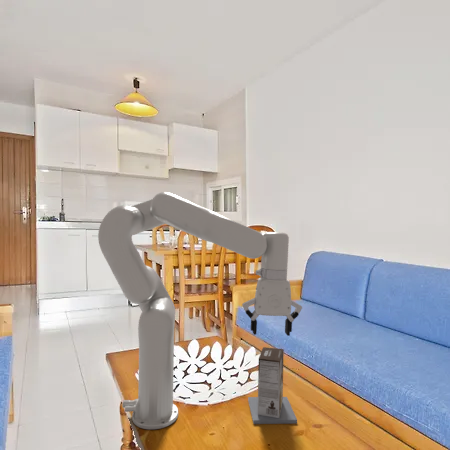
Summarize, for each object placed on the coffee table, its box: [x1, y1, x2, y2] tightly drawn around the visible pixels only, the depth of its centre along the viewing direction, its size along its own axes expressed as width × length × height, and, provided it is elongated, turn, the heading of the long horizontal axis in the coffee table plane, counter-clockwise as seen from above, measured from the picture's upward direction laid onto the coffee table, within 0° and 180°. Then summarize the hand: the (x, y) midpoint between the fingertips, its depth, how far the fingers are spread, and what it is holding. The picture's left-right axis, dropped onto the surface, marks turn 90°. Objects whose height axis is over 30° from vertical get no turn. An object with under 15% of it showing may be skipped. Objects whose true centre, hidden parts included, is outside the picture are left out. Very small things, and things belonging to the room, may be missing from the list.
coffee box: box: [257, 346, 285, 418], centre depth 96 cm, size 9×6×16 cm
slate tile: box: [247, 396, 298, 425], centre depth 97 cm, size 12×12×1 cm
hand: (270, 333), depth 97 cm, fingers open, 9 cm apart
